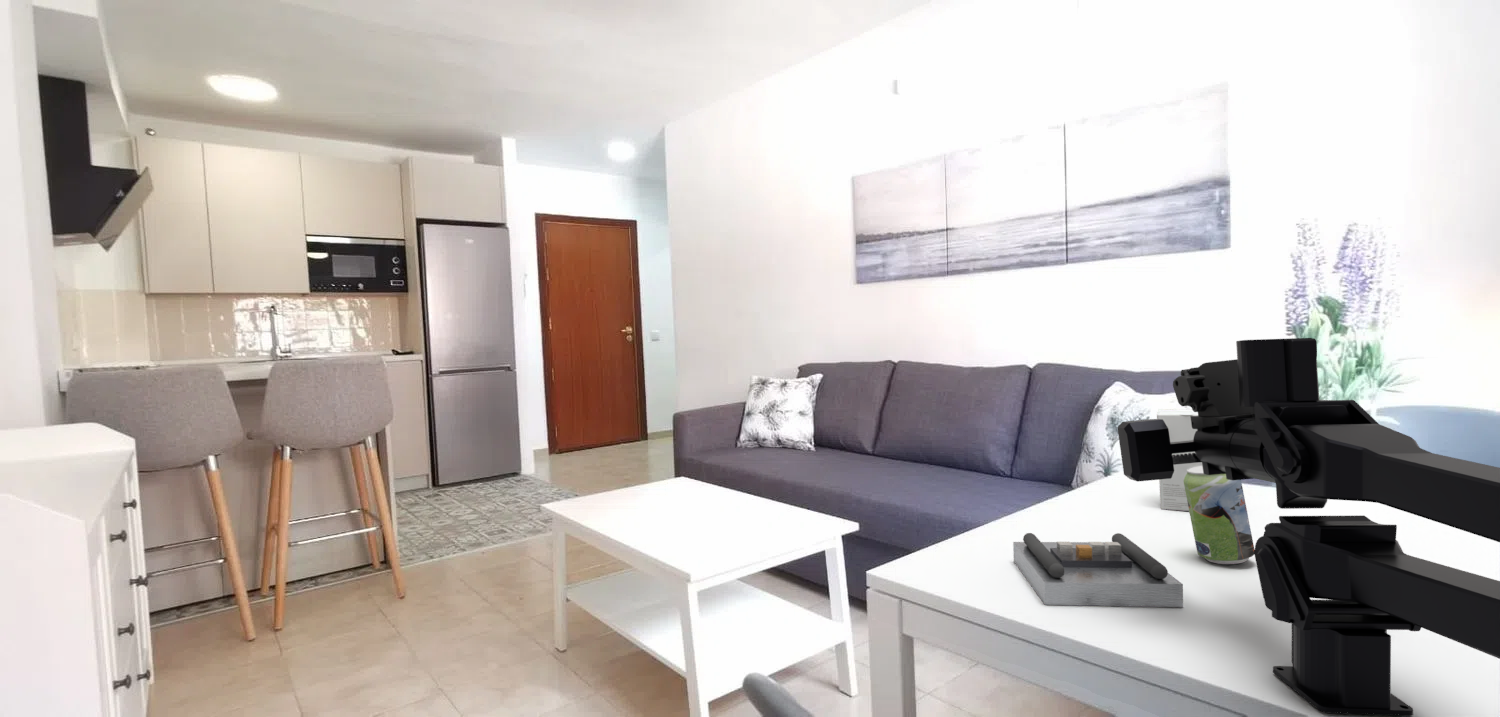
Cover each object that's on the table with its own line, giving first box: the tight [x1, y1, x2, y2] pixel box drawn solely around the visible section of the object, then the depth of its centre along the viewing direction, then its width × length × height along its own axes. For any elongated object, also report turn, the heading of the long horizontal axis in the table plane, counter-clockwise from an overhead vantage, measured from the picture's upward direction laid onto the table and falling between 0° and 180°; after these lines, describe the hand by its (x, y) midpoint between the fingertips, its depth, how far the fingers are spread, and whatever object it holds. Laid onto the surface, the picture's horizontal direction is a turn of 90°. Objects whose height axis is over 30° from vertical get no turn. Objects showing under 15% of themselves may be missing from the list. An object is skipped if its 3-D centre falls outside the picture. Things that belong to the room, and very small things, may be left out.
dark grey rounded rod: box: [1111, 532, 1169, 579], centre depth 80 cm, size 13×2×2 cm, turn 172°
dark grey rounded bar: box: [1022, 532, 1065, 578], centre depth 81 cm, size 13×2×2 cm, turn 172°
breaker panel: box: [1012, 541, 1184, 608], centre depth 81 cm, size 14×14×4 cm
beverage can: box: [1184, 465, 1255, 565], centre depth 86 cm, size 6×7×12 cm
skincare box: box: [1156, 408, 1202, 512], centre depth 110 cm, size 8×7×16 cm
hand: (1177, 437), depth 80 cm, fingers open, 9 cm apart
